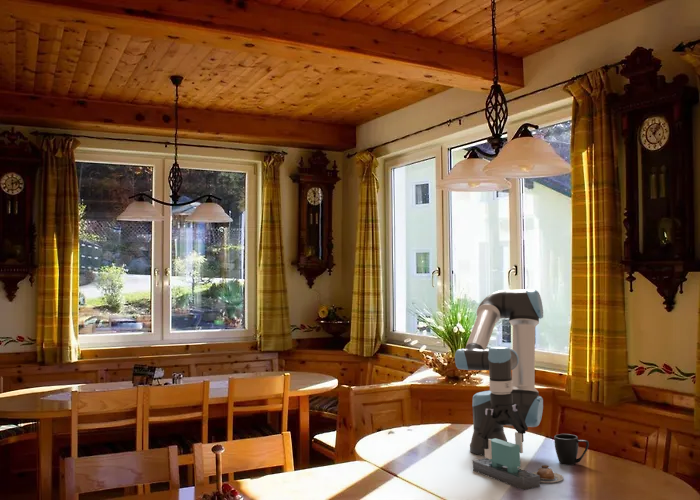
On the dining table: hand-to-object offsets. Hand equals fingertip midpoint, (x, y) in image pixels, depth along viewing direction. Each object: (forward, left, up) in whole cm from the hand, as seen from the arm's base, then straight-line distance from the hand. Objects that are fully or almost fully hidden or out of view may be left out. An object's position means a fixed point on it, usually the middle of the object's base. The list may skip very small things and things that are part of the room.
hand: (504, 455), depth 221 cm
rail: (0, 0, -8) cm, 8 cm away
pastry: (+7, +11, -8) cm, 16 cm away
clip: (0, 0, -8) cm, 8 cm away
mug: (0, +31, -8) cm, 32 cm away
